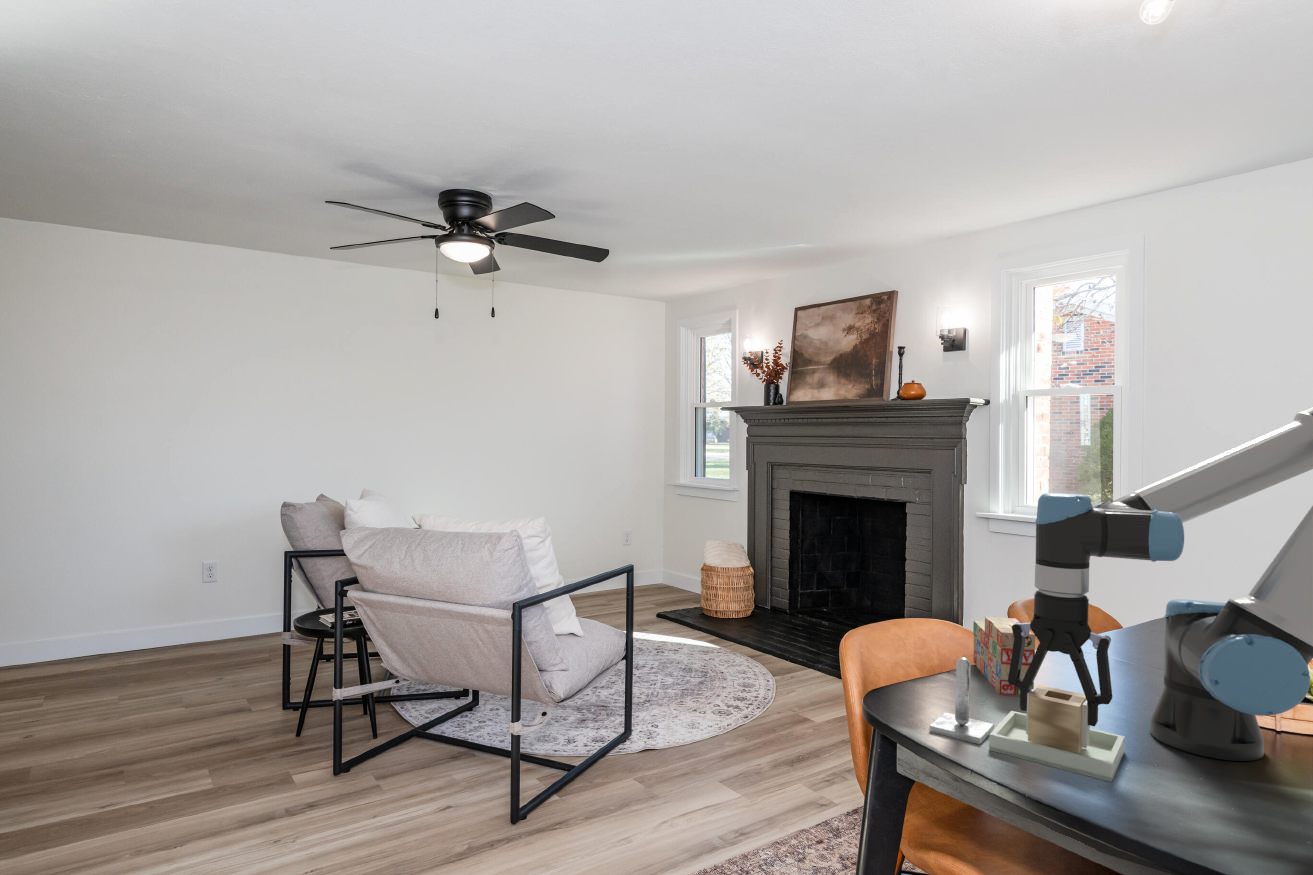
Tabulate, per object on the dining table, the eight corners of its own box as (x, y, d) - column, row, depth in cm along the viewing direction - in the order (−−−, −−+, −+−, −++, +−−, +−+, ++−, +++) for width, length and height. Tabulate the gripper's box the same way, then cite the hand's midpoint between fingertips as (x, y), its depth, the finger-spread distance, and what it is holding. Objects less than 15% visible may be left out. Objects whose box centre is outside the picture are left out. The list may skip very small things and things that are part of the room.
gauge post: (993, 729, 128) (995, 657, 128) (980, 744, 122) (982, 668, 122) (944, 717, 133) (946, 648, 133) (929, 731, 127) (931, 658, 126)
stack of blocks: (972, 662, 167) (973, 606, 167) (1002, 664, 166) (1004, 608, 166) (999, 695, 146) (1001, 631, 146) (1034, 697, 145) (1036, 633, 145)
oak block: (1086, 739, 120) (1087, 694, 120) (1078, 753, 115) (1079, 706, 115) (1037, 727, 125) (1039, 684, 125) (1027, 740, 119) (1028, 695, 119)
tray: (1124, 752, 120) (1124, 736, 120) (1111, 781, 109) (1111, 764, 109) (1010, 725, 130) (1011, 710, 130) (989, 750, 120) (989, 734, 120)
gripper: (1138, 598, 116) (1134, 748, 117) (999, 580, 129) (996, 715, 129) (1132, 606, 110) (1128, 764, 111) (987, 586, 123) (983, 728, 123)
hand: (1057, 738), depth 120 cm, fingers closed on oak block, 7 cm apart
